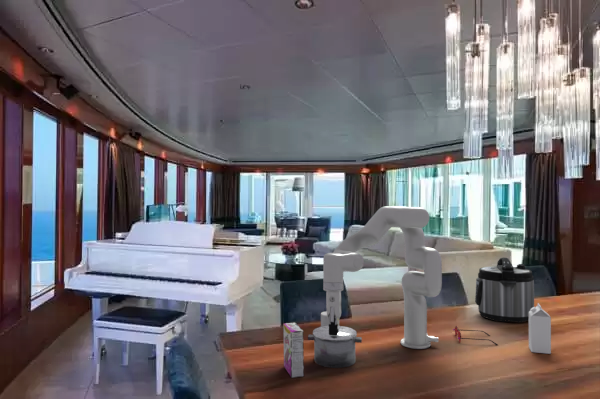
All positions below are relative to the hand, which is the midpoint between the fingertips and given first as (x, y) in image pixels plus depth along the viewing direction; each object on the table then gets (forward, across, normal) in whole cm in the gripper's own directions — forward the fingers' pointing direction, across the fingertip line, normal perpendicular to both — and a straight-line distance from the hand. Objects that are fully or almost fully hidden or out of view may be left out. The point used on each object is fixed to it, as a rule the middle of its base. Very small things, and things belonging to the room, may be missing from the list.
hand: (333, 334), depth 166 cm
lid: (+2, +6, 0) cm, 6 cm away
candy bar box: (+12, -8, +14) cm, 20 cm away
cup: (+12, +30, +4) cm, 33 cm away
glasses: (+12, +42, -60) cm, 74 cm away
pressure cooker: (+12, +83, -84) cm, 119 cm away
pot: (+12, +6, 0) cm, 13 cm away
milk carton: (+12, +30, -83) cm, 89 cm away
